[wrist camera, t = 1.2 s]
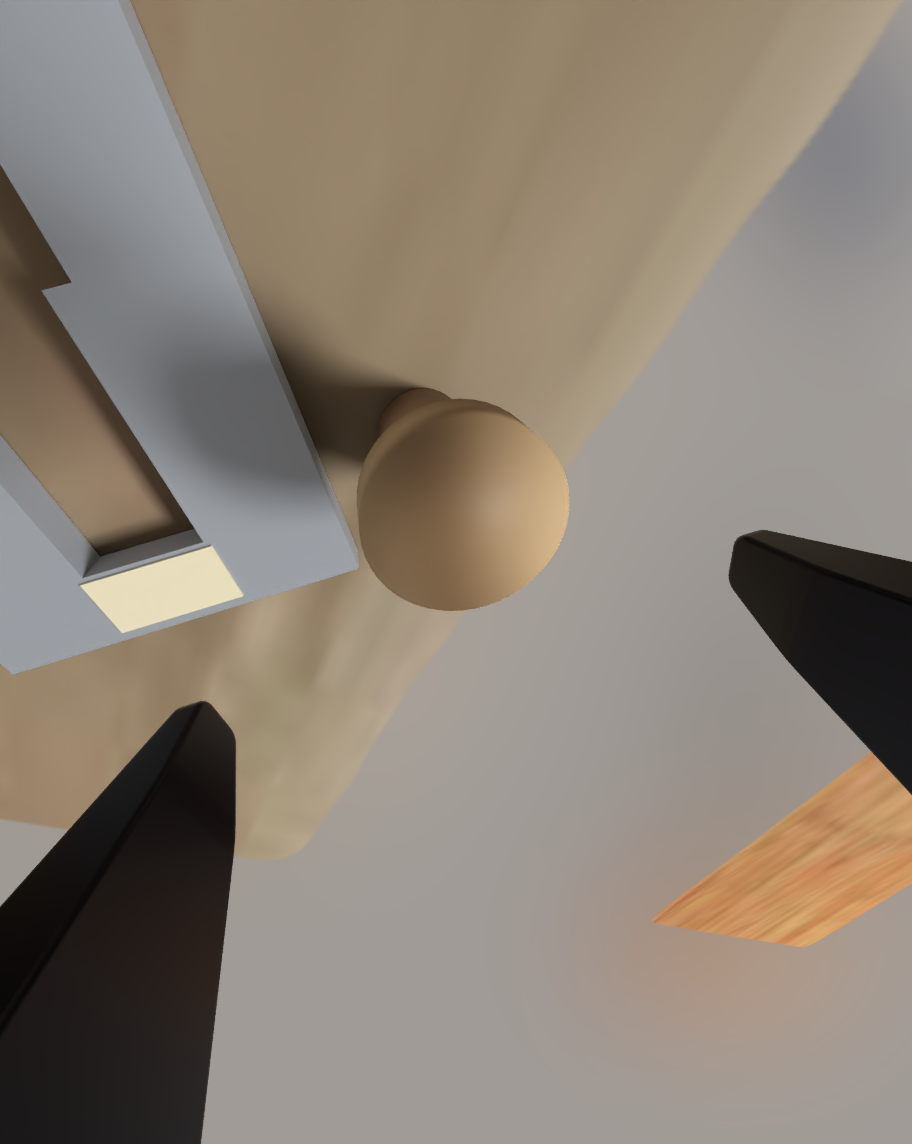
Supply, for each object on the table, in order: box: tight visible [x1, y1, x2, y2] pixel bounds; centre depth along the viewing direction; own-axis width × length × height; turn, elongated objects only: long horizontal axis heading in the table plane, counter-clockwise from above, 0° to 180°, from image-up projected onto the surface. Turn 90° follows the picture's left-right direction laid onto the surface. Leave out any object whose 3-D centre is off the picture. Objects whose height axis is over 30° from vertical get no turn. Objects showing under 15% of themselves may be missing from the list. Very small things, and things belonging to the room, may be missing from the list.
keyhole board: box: [0, 0, 359, 674], centre depth 13 cm, size 20×14×2 cm
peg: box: [357, 388, 570, 611], centre depth 15 cm, size 5×5×8 cm
